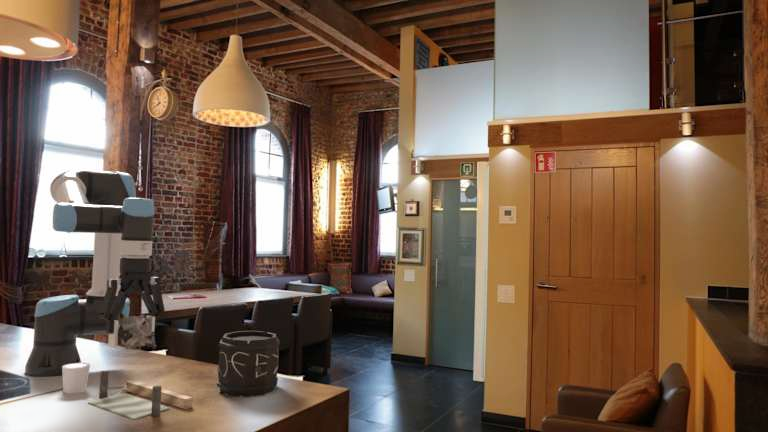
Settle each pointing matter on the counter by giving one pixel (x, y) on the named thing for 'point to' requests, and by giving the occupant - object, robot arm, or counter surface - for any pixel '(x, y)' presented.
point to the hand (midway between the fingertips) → (131, 343)
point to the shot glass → (75, 377)
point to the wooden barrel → (248, 363)
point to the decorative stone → (135, 332)
